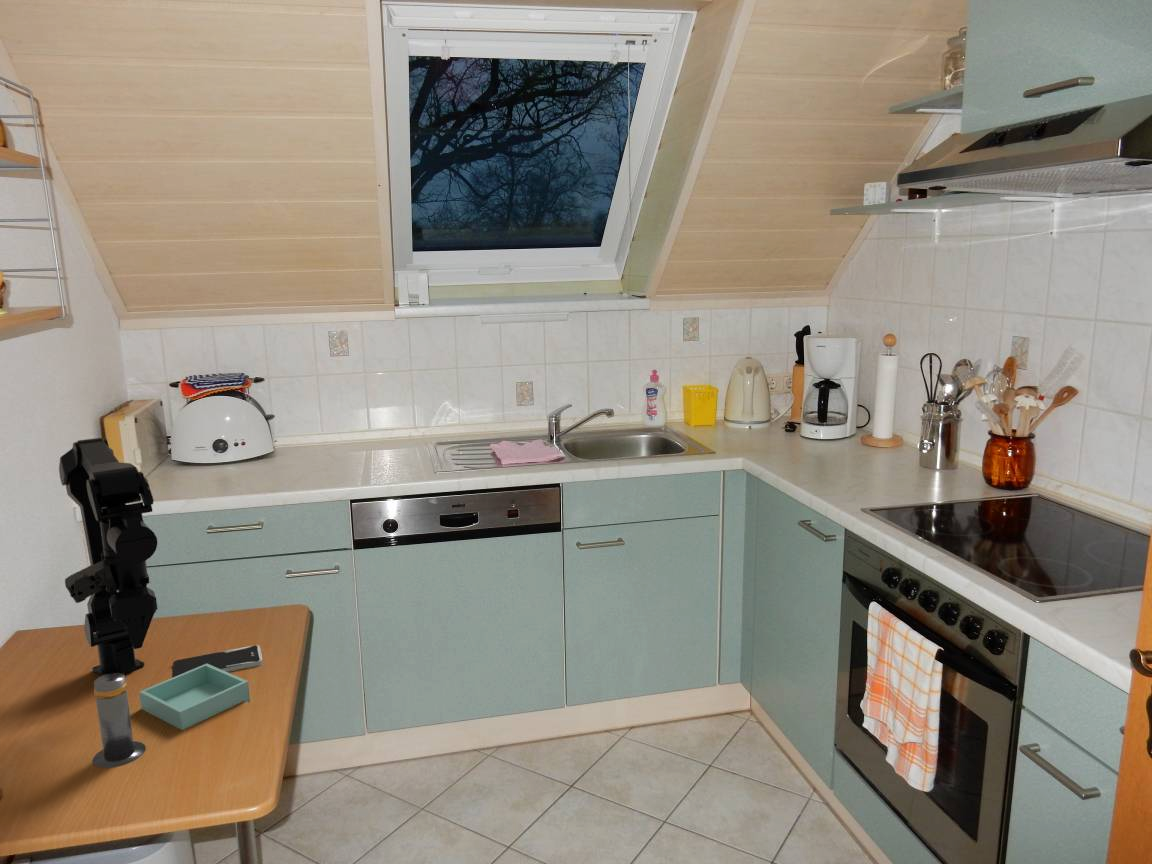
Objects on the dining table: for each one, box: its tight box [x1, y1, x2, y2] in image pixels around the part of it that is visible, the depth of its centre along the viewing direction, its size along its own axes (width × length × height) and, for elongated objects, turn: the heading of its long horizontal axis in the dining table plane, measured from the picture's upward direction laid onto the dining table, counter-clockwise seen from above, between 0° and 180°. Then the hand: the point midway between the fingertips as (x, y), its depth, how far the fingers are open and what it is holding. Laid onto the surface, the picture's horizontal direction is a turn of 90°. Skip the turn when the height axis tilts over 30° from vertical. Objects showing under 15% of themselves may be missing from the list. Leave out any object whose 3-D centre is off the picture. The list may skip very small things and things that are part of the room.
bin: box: [138, 664, 251, 731], centre depth 142 cm, size 12×12×4 cm
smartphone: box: [172, 644, 264, 678], centre depth 157 cm, size 8×1×15 cm
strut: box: [93, 673, 135, 762], centre depth 127 cm, size 4×4×12 cm
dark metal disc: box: [92, 740, 147, 769], centre depth 128 cm, size 7×7×1 cm
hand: (134, 637), depth 139 cm, fingers open, 9 cm apart
